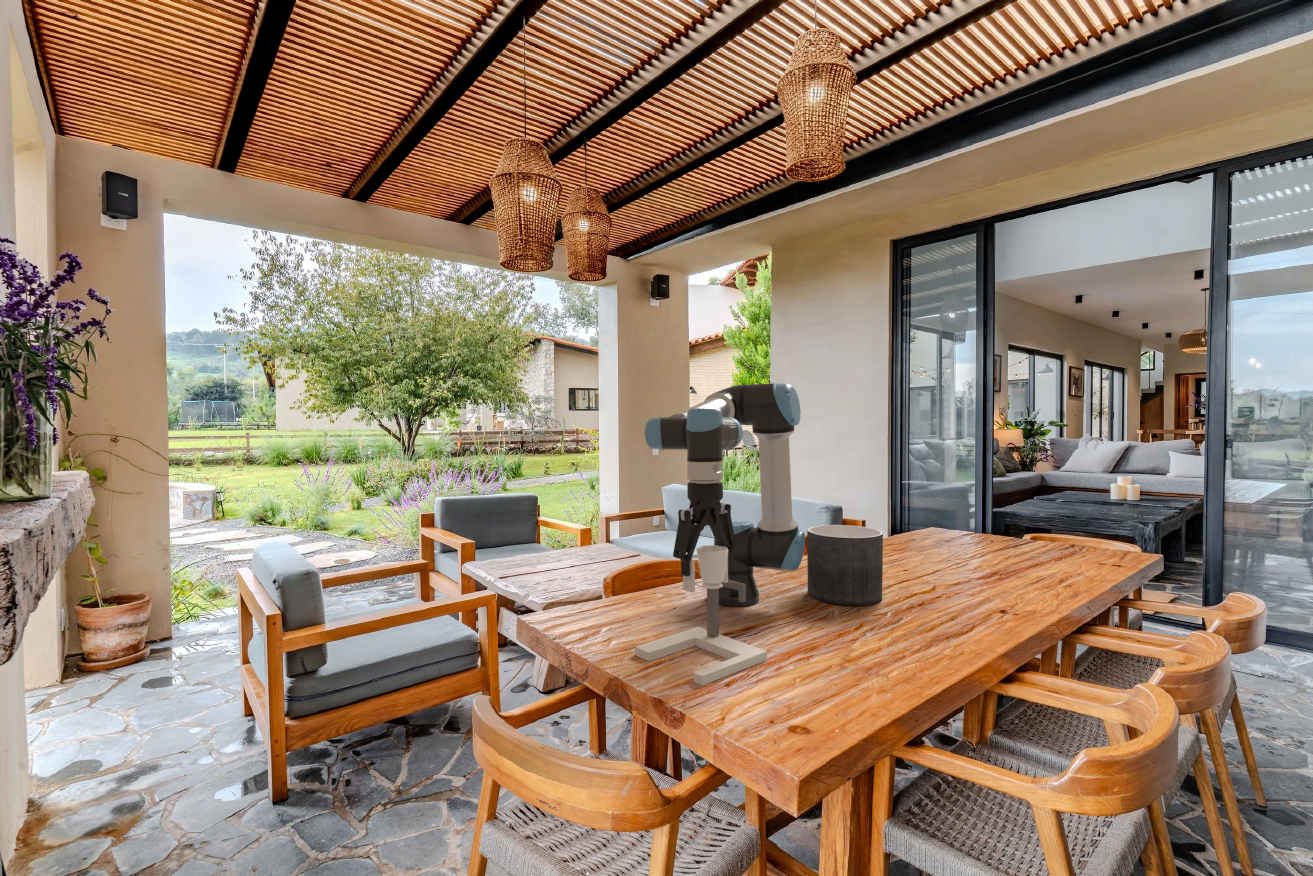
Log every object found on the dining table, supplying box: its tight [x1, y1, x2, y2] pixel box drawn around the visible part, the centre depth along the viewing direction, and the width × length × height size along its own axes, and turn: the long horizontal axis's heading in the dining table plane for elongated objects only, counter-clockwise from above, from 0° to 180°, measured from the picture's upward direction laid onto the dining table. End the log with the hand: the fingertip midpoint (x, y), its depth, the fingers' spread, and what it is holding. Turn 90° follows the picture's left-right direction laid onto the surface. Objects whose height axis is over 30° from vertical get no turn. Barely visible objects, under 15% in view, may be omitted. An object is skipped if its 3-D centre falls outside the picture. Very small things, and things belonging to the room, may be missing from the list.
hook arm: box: [706, 580, 746, 638], centre depth 145 cm, size 11×2×16 cm, turn 40°
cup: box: [691, 544, 728, 589], centre depth 131 cm, size 7×10×8 cm
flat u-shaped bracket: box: [634, 626, 768, 687], centre depth 140 cm, size 22×20×2 cm
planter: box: [806, 524, 884, 607], centre depth 189 cm, size 22×22×20 cm
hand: (706, 586), depth 131 cm, fingers closed on cup, 9 cm apart
